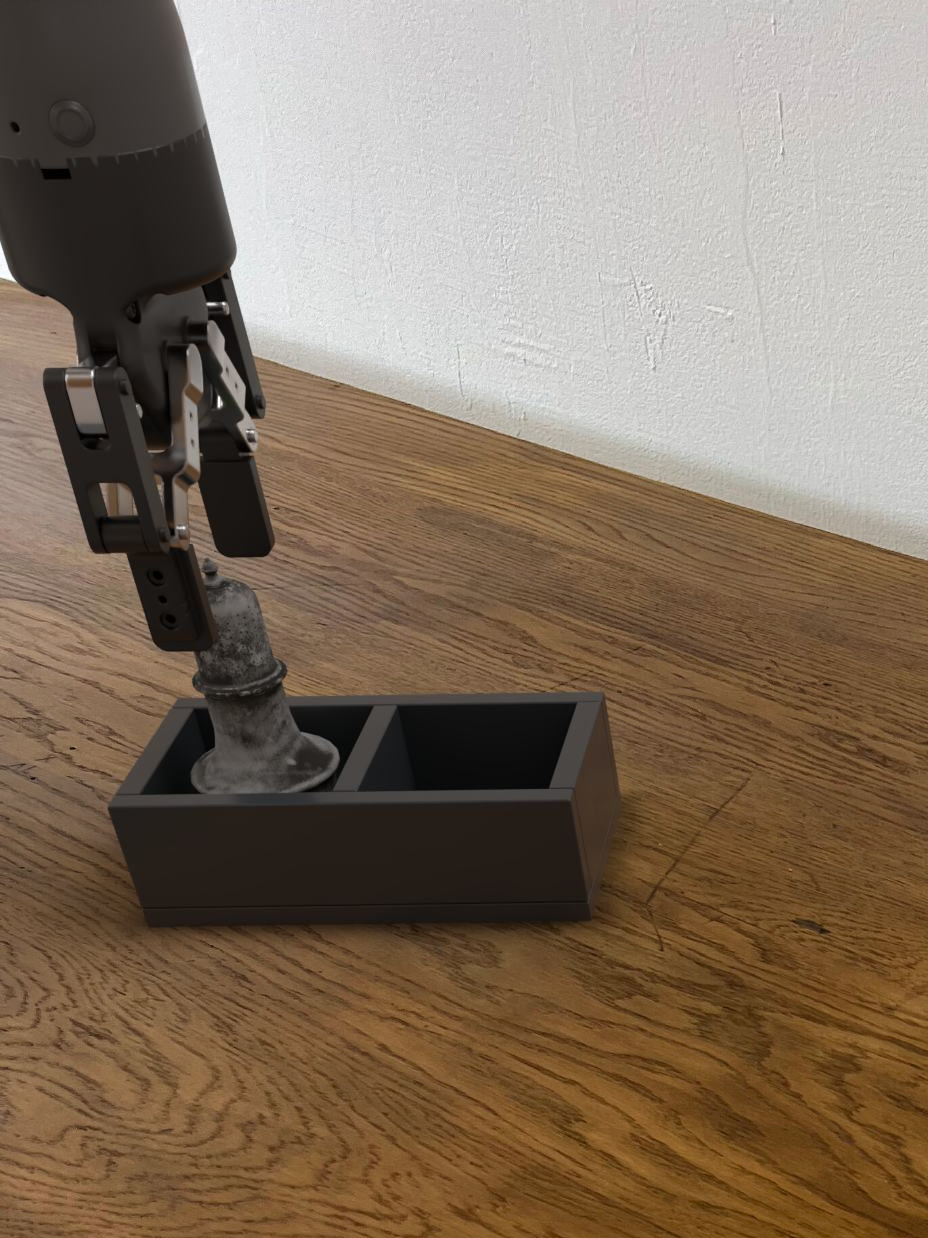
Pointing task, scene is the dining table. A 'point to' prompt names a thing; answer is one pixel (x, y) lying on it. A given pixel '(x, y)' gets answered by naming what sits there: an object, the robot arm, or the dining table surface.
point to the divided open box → (384, 816)
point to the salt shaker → (252, 706)
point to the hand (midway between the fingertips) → (219, 599)
